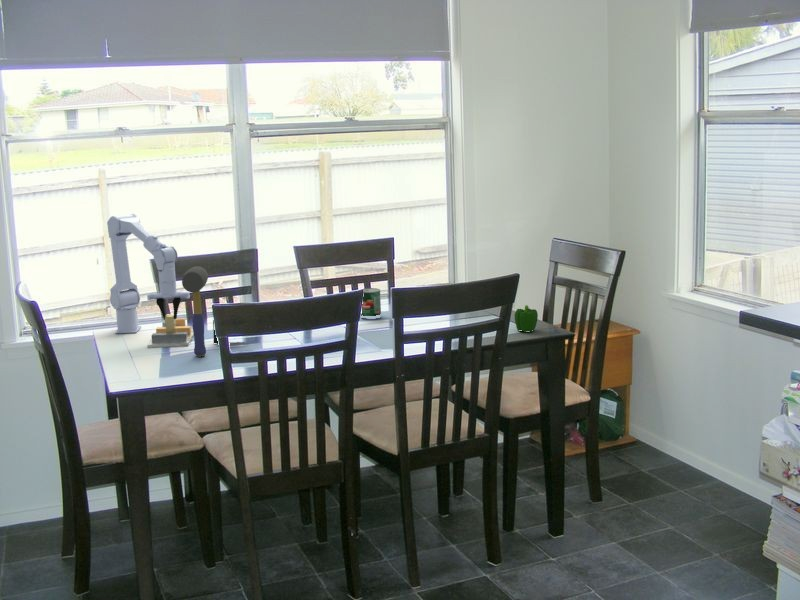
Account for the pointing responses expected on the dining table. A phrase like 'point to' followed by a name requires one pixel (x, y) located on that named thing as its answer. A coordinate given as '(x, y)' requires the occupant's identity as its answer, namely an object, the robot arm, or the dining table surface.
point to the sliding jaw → (177, 327)
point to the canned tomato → (371, 302)
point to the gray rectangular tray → (170, 339)
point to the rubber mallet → (196, 304)
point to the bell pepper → (526, 319)
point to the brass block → (170, 323)
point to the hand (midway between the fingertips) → (170, 318)
